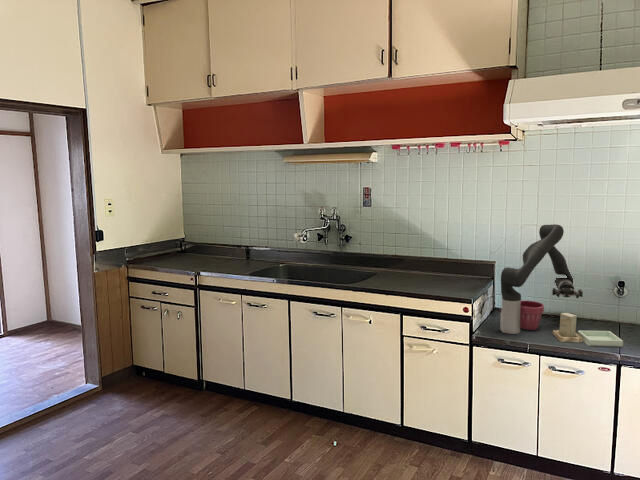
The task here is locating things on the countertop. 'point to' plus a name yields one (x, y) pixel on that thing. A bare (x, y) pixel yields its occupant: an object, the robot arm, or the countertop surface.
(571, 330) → the skincare box
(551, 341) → the countertop surface
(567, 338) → the wooden frame
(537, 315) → the plant pot
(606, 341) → the sage tray
